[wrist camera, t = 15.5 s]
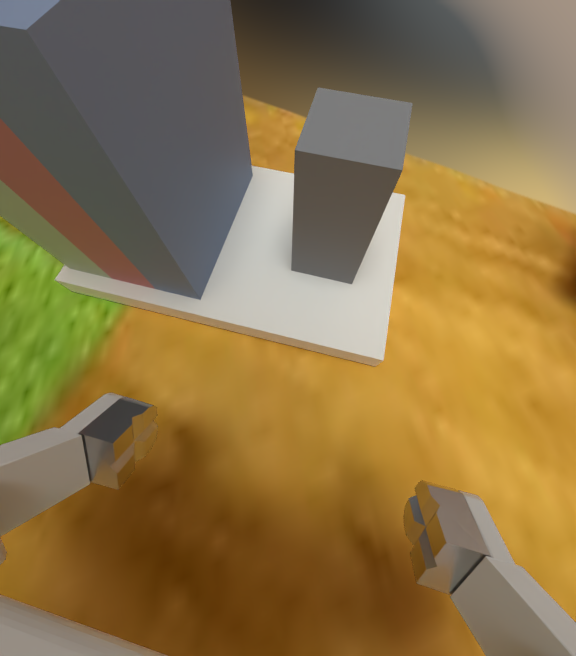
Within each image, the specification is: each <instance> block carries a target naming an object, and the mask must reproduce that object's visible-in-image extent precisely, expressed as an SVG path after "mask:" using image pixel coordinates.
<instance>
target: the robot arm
mask: <svg viewBox="0 0 576 656" xmlns="http://www.w3.org/2000/svg"><path fill="white" fill-rule="evenodd" d="M157 416H158V414H157V407H156V406H154V405H151V404H147V403H144V402H141V401H138V400H135V399H131V398H128V397H124V396H121V395H118V394H114V393H107V394H105V395H103V396H102V397H100V398H99V399H98V400H96V401H95V402H94V403H93V404H91V405H90V406H89V407H87V408H86V409H85V410H83V411H82V412H81V413H79V414H78V415H77V416H75V417H74V418H73V419H71V420H70V421H69V422H67V423H66V424H65V425H63V426H62V427H61V428H56V427H54V428H50V429H47V430H44V431H41V432H38V433H35V434H32V435H29V436H26V437H23V438H20V439H17V440H14V441H11V442H8V443H5V444H2V445H0V537H1V536H2V535H4V534H6V533H8V532H9V531H11V530H13V529H14V528H16V527H18V526H19V525H21V524H23V523H25V522H26V521H28V520H30V519H31V518H33V517H35V516H36V515H38V514H40V513H42V512H43V511H45V510H47V509H48V508H50V507H52V506H54V505H55V504H57V503H59V502H60V501H62V500H64V499H65V498H67V497H69V496H71V495H72V494H74V493H76V492H77V491H79V490H81V489H83V488H84V487H86V486H88V485H89V484H90V482H92V483H96V484H99V485H103V486H107V487H110V488H114V489H117V490H119V489H120V488H121V486H122V485H123V484H124V483H125V481H126V480H127V479H128V478H129V476H130V475H131V474H132V473H133V471H134V470H135V462H136V461H138V460H140V459H142V458H144V457H146V455H147V454H148V453H149V451H150V450H151V449H152V447H153V445H154V443H155V441H156V438H157V434H158V426H157V424H156V423H155V421H154V419H155V418H156V417H157ZM415 492H416V496H413V497H411V498H409V499H408V501H407V503H406V505H405V510H404V527H405V532H406V536H407V537H408V538H409V540H410V541H411V543H412V544H413V545H414V546H413V548H412V550H411V552H410V556H411V561H412V566H413V570H414V575H415V579H416V583H417V584H420V585H423V586H426V587H429V588H431V589H434V590H437V591H440V592H443V593H446V594H449V595H451V596H450V598H451V599H452V601H453V603H454V604H455V606H456V608H457V609H458V611H459V613H460V614H461V616H462V617H463V619H464V621H465V622H466V624H467V626H468V627H469V629H470V630H471V632H472V634H473V635H474V637H475V639H476V640H477V642H478V644H479V645H480V647H481V648H482V650H483V652H484V653H485V655H486V656H576V622H575V621H574V620H573V619H572V618H571V617H570V616H569V615H568V614H567V613H566V612H565V611H564V610H563V609H562V608H561V607H560V606H559V605H558V604H557V603H556V602H555V601H554V600H553V599H552V597H551V596H550V595H549V594H548V593H547V592H546V591H545V590H544V589H543V588H542V587H541V586H540V585H539V584H538V583H537V582H536V581H535V580H534V579H533V578H532V577H531V576H530V575H529V574H528V572H527V571H526V570H525V569H524V568H523V567H521V566H518V565H515V563H514V561H513V559H512V557H511V555H510V553H509V551H508V549H507V547H506V545H505V543H504V541H503V539H502V537H501V535H500V533H499V531H498V529H497V528H496V526H495V524H494V522H493V520H492V518H491V516H490V514H489V512H488V510H487V508H486V506H485V504H484V502H483V500H482V499H481V498H480V497H479V496H478V495H474V494H470V493H467V492H463V491H459V490H456V489H452V488H449V487H445V486H441V485H438V484H434V483H430V482H426V481H423V480H422V481H420V482H418V484H417V485H416V487H415ZM6 554H7V551H6V549H5V547H4V545H3V542H2V540H1V538H0V564H1V563H2V562H3V561H4V560H5V559H6ZM0 656H168V655H165V654H162V653H159V652H157V651H154V650H151V649H149V648H146V647H143V646H140V645H138V644H135V643H132V642H129V641H127V640H124V639H121V638H118V637H116V636H113V635H110V634H107V633H105V632H102V631H99V630H96V629H94V628H91V627H88V626H86V625H83V624H80V623H77V622H75V621H72V620H69V619H66V618H64V617H61V616H58V615H55V614H53V613H50V612H47V611H44V610H42V609H39V608H36V607H34V606H31V605H28V604H25V603H23V602H20V601H17V600H14V599H12V598H9V597H6V596H3V595H1V594H0Z"/></svg>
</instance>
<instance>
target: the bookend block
mask: <svg viewBox="0 0 576 656" xmlns="http://www.w3.org/2000/svg"><path fill="white" fill-rule="evenodd" d="M411 110H412V103H408V102H401V101H396V100H390V99H384V98H378V97H372V96H366V95H360V94H354V93H348V92H342V91H336V90H330V89H324V88H318V89H317V92H316V94H315V97H314V100H313V103H312V105H311V108H310V111H309V113H308V116H307V119H306V121H305V124H304V127H303V130H302V132H301V135H300V138H299V140H298V143H297V146H296V149H295V164H294V196H293V229H292V261H291V271H295V272H300V273H304V274H309V275H313V276H317V277H322V278H326V279H331V280H335V281H339V282H344V283H348V284H352V283H353V281H354V278H355V276H356V274H357V272H358V269H359V267H360V265H361V263H362V260H363V258H364V256H365V254H366V251H367V249H368V247H369V245H370V242H371V240H372V238H373V236H374V233H375V231H376V229H377V226H378V224H379V222H380V220H381V217H382V215H383V213H384V211H385V208H386V206H387V204H388V202H389V199H390V197H391V195H392V193H393V190H394V188H395V186H396V184H397V181H398V179H399V177H400V175H401V172H402V169H403V163H404V156H405V149H406V142H407V135H408V130H409V122H410V116H411Z"/></svg>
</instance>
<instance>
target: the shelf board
mask: <svg viewBox="0 0 576 656" xmlns="http://www.w3.org/2000/svg"><path fill="white" fill-rule="evenodd" d="M293 196H294V174H293V173H287V172H282V171H277V170H272V169H266V168H261V167H256V166H251V158H250V150H249V142H248V135H247V127H246V119H245V112H244V104H243V96H242V89H241V81H240V74H239V66H238V58H237V50H236V42H235V35H234V27H233V20H232V11H231V4H230V0H0V216H1V217H3V218H4V219H5V220H7V221H8V222H9V223H11V224H12V225H13V226H14V227H16V228H17V229H18V230H20V231H21V232H22V233H24V234H25V235H26V236H28V237H29V238H30V239H32V240H33V241H34V242H36V243H37V244H38V245H39V246H41V247H42V248H43V249H45V250H46V251H47V252H49V253H50V254H51V255H53V256H54V257H55V258H57V259H58V260H59V261H61V262H62V263H63V264H65V265H64V266H63V268H62V269H61V271H60V272H59V274H58V275H57V277H56V278H55V281H57V282H58V283H60V284H62V285H63V286H65V287H66V288H68V289H69V290H71V291H72V292H76V293H80V294H84V295H89V296H93V297H97V298H101V299H105V300H109V301H113V302H117V303H121V304H125V305H129V306H133V307H137V308H141V309H145V310H149V311H153V312H157V313H161V314H165V315H169V316H173V317H177V318H181V319H185V320H189V321H194V322H198V323H202V324H206V325H210V326H214V327H218V328H222V329H226V330H230V331H234V332H238V333H242V334H246V335H250V336H254V337H258V338H262V339H266V340H270V341H274V342H278V343H282V344H286V345H290V346H294V347H298V348H303V349H307V350H311V351H315V352H319V353H323V354H327V355H331V356H335V357H339V358H343V359H347V360H351V361H355V362H359V363H363V364H367V365H371V366H377V365H378V364H379V363H381V362H382V361H383V360H384V353H385V345H386V337H387V330H388V322H389V314H390V307H391V299H392V291H393V284H394V276H395V269H396V261H397V253H398V246H399V238H400V230H401V223H402V215H403V208H404V200H405V195H402V194H397V193H392V195H391V197H390V199H389V202H388V204H387V206H386V208H385V211H384V213H383V215H382V217H381V220H380V222H379V224H378V226H377V229H376V231H375V233H374V236H373V238H372V240H371V242H370V245H369V247H368V249H367V251H366V254H365V256H364V258H363V260H362V263H361V265H360V267H359V269H358V272H357V274H356V276H355V278H354V281H353V283H352V284H348V283H344V282H339V281H335V280H331V279H326V278H322V277H317V276H313V275H309V274H304V273H300V272H295V271H291V261H292V229H293Z"/></svg>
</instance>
